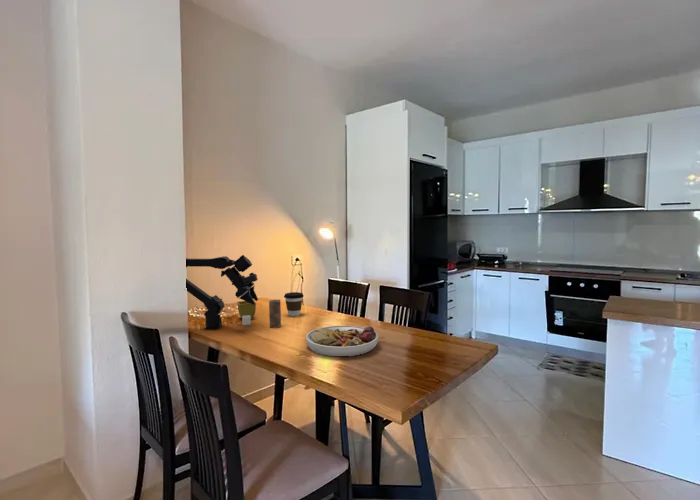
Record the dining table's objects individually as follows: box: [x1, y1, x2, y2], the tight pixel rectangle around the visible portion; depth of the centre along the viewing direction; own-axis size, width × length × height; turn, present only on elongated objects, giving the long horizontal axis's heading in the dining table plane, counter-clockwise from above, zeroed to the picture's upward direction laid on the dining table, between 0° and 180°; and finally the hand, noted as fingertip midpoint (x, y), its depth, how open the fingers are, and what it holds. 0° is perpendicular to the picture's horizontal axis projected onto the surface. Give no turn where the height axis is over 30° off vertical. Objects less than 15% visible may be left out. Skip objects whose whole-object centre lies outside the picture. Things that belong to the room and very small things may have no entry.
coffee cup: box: [283, 291, 304, 317], centre depth 212 cm, size 11×11×12 cm
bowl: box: [305, 325, 379, 357], centre depth 158 cm, size 30×30×8 cm
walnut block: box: [268, 299, 282, 329], centre depth 189 cm, size 5×5×13 cm
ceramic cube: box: [241, 315, 252, 326], centre depth 194 cm, size 4×4×4 cm
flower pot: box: [236, 300, 257, 320], centre depth 205 cm, size 9×9×9 cm
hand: (256, 302), depth 188 cm, fingers open, 9 cm apart
